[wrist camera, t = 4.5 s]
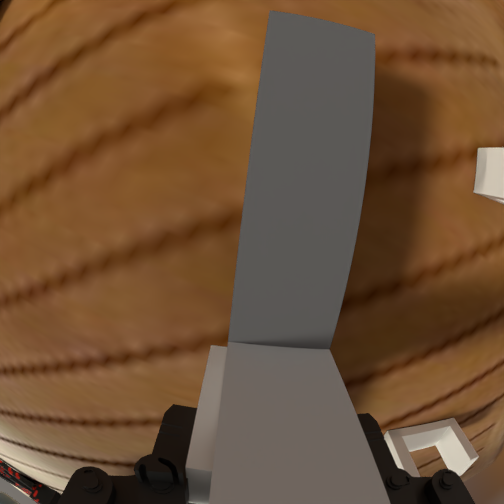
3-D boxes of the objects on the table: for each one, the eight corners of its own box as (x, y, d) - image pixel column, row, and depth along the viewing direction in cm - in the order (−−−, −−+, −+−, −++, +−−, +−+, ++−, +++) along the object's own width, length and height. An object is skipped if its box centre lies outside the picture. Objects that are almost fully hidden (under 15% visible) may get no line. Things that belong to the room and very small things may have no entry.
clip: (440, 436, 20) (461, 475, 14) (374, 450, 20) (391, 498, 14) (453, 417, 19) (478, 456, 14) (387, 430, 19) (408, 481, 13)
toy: (-11, 452, 31) (71, 504, 29) (-19, 463, 26) (63, 520, 24) (-28, 430, 29) (50, 484, 27) (-38, 441, 24) (40, 501, 22)
